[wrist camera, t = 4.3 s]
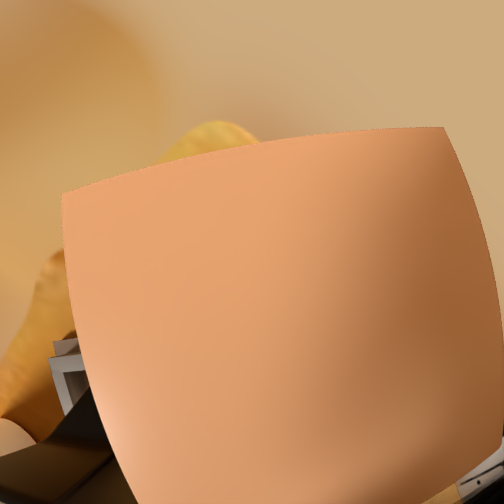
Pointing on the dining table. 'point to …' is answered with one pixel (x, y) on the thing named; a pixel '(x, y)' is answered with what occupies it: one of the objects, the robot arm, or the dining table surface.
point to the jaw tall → (290, 321)
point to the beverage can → (13, 437)
